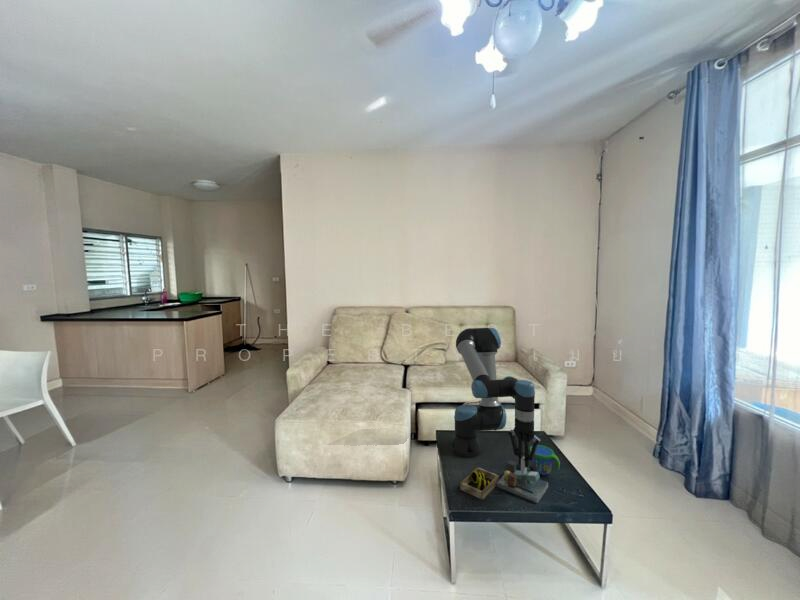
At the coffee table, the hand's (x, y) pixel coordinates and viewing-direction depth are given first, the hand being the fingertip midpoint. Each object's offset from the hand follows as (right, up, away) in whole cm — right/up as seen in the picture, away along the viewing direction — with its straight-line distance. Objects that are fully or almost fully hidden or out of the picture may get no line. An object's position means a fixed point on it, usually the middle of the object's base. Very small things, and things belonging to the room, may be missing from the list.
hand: (523, 473), depth 136 cm
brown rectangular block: (-4, -6, +3) cm, 8 cm away
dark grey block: (-1, -6, +12) cm, 14 cm away
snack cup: (+14, -8, +16) cm, 23 cm away
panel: (+1, -8, +5) cm, 10 cm away
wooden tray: (-17, -9, +6) cm, 20 cm away
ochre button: (-4, -6, +7) cm, 11 cm away
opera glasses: (-17, -9, +6) cm, 20 cm away
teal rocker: (+3, -4, +5) cm, 7 cm away
